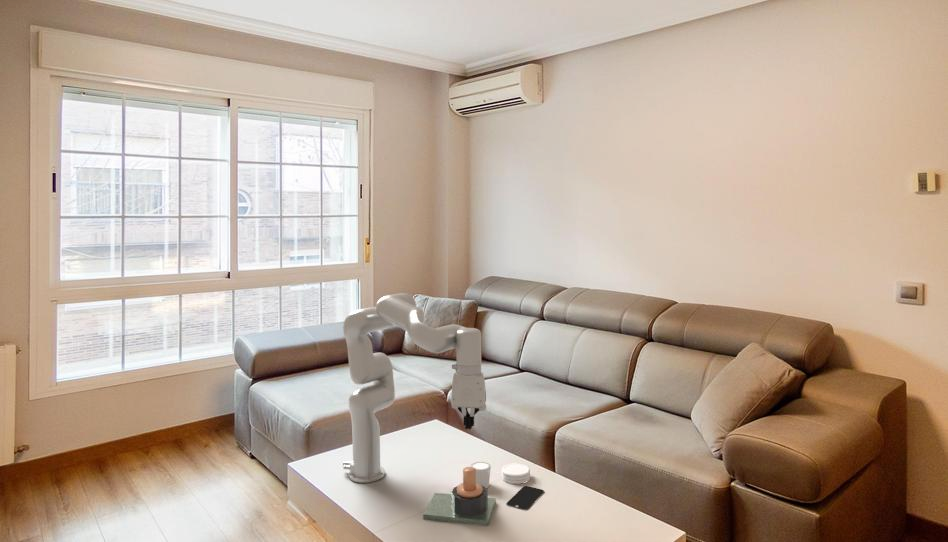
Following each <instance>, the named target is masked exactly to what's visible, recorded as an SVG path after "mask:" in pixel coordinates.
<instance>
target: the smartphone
mask: <svg viewBox="0 0 948 542" xmlns="http://www.w3.org/2000/svg"><path fill="white" fill-rule="evenodd" d="M544 494H545V490H544V489H542V488H537V487H533V486H528V485H524V486H522V487H521V488H520V489H519V490H518V491H517V492H516V493H515V494H514V495H513V496H512V497H511V498H510V499H509V500H508V501H507V502H506V503H505V505H506V506H507V507H510V508H514V509H518V510H521V511H529V510H530V508H532V506H533V505H534V504H535V503H536V502H537V501H538V500H539V499H540V498H541V497H540V496H542V495H544ZM539 497H540V498H539ZM538 498H539V499H538ZM537 499H538V500H537ZM536 500H537V501H536ZM535 501H536V502H535Z"/></svg>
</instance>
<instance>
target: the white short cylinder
mask: <svg viewBox="0 0 948 542" xmlns="http://www.w3.org/2000/svg"><path fill="white" fill-rule="evenodd" d="M501 479H502V481H503V482H505V483H508V484H511V483H512V484H513V485H521V484H520V483H523V484H525V483H524V482H526V481H528V480H529V481H530V480H531V469H530V467H529V466H527V465H525V464H522V463H512V462H511V463H508V464H505V465H504V466H502V468H501ZM529 481H528V482H529ZM526 483H527V482H526Z"/></svg>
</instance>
